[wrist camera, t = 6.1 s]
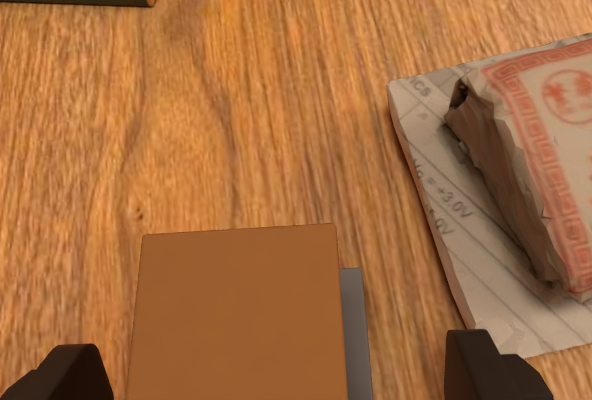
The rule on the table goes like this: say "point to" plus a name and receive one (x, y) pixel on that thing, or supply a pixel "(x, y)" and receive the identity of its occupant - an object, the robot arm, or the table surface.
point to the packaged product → (508, 188)
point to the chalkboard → (96, 2)
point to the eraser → (248, 317)
